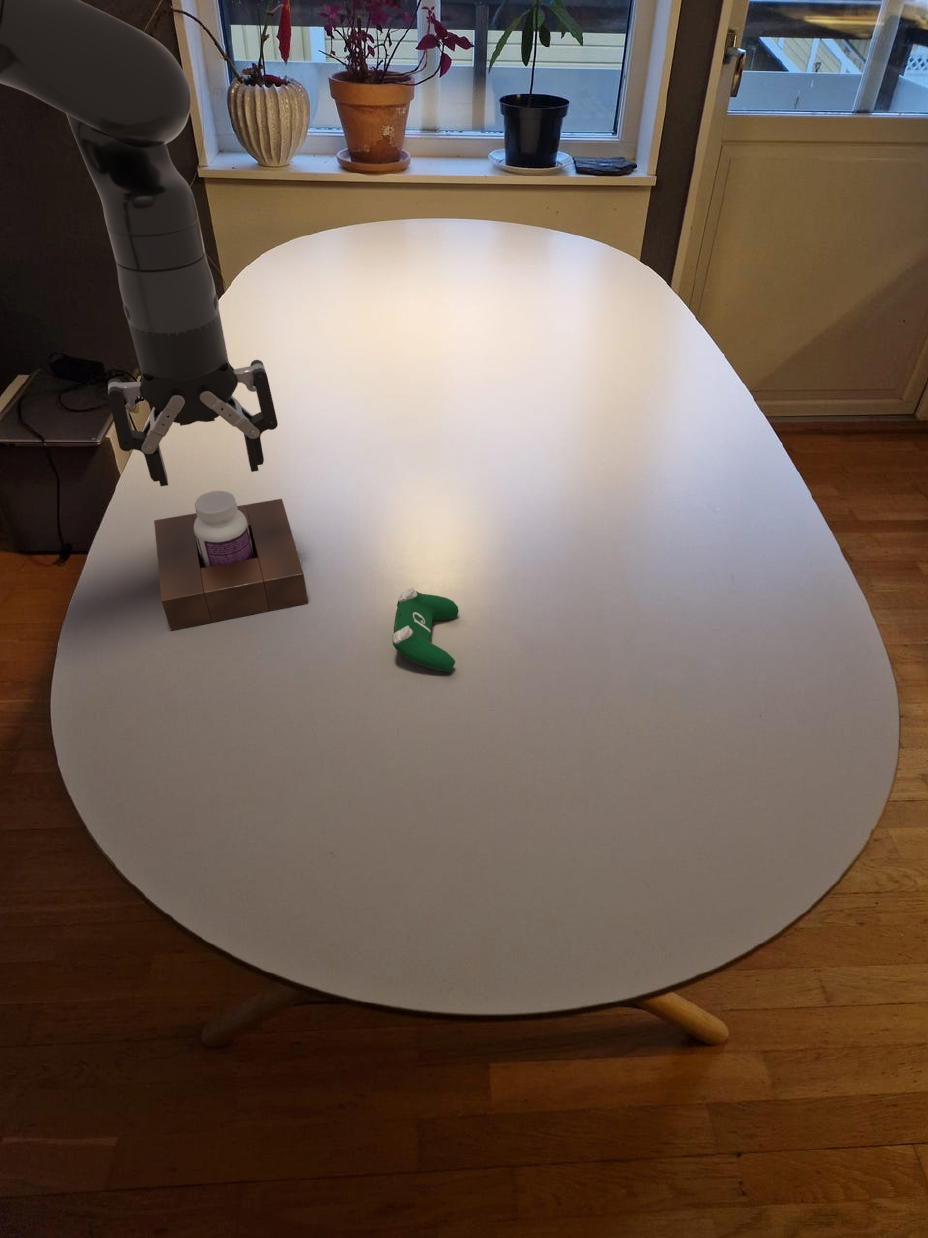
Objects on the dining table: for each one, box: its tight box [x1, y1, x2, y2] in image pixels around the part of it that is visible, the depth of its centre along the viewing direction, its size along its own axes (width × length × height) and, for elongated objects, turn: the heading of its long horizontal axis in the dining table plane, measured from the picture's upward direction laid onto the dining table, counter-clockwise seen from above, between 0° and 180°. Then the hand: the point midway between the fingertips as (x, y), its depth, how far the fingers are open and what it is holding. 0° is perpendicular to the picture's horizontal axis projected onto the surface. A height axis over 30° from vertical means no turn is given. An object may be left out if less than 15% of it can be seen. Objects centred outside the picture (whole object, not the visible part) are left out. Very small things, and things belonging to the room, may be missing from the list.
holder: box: [153, 498, 309, 631], centre depth 91 cm, size 14×14×4 cm
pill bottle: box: [194, 490, 255, 568], centre depth 89 cm, size 5×5×10 cm
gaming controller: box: [391, 587, 460, 673], centre depth 84 cm, size 9×4×6 cm
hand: (209, 474), depth 83 cm, fingers open, 8 cm apart
